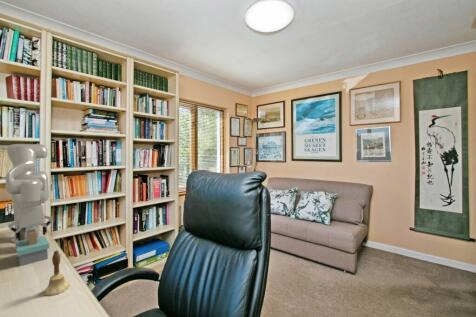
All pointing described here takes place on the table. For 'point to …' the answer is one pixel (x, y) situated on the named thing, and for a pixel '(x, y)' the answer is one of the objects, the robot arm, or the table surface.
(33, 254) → the box
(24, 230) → the coffee box
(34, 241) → the lid
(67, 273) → the table surface
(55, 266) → the hand bell
